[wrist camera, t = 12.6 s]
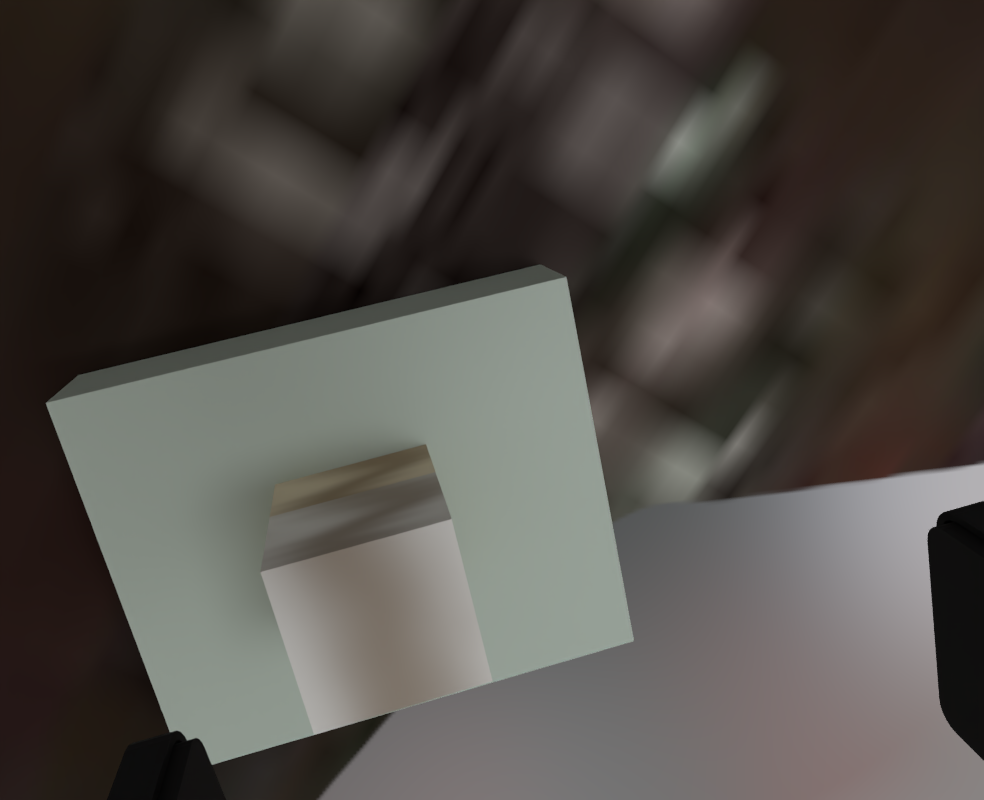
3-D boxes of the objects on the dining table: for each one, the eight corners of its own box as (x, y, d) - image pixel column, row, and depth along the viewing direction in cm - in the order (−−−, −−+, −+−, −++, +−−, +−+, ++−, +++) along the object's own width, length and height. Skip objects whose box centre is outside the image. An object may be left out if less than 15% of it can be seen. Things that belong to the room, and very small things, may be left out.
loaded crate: (425, 444, 32) (451, 519, 25) (459, 577, 33) (492, 681, 27) (275, 484, 31) (260, 572, 25) (316, 618, 33) (314, 734, 26)
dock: (540, 264, 35) (566, 276, 31) (604, 594, 39) (634, 640, 35) (78, 375, 33) (45, 403, 29) (199, 710, 37) (185, 772, 33)
